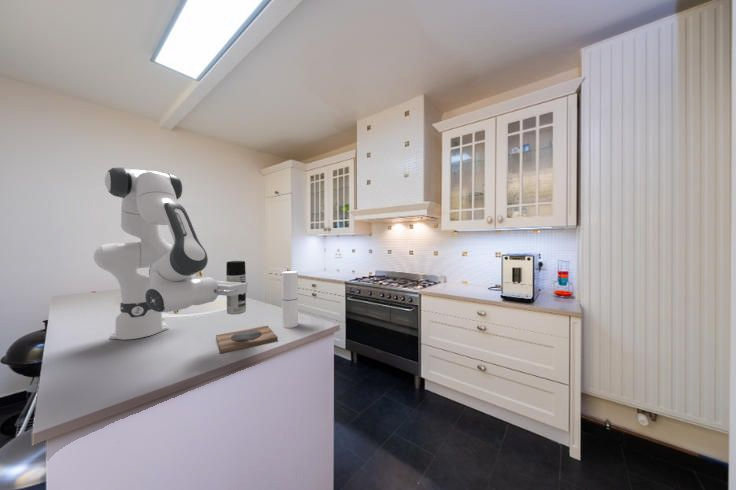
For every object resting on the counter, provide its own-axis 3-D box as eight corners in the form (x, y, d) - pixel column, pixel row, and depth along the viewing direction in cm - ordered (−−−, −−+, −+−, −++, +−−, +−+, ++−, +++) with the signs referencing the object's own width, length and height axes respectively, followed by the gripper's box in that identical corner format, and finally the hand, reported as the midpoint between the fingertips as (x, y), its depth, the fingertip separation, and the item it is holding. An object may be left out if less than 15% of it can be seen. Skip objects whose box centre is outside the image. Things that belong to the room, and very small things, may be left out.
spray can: (240, 315, 98) (240, 262, 97) (222, 314, 98) (222, 262, 97) (248, 310, 104) (249, 260, 104) (232, 309, 104) (232, 260, 104)
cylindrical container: (279, 327, 118) (278, 272, 117) (286, 322, 125) (286, 270, 124) (294, 328, 117) (293, 273, 116) (300, 323, 124) (300, 271, 123)
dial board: (216, 338, 105) (216, 334, 105) (267, 328, 116) (267, 324, 116) (220, 353, 92) (220, 348, 92) (277, 340, 103) (277, 336, 103)
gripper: (227, 283, 85) (258, 277, 98) (184, 279, 92) (219, 274, 105) (227, 302, 85) (259, 293, 98) (185, 297, 92) (219, 289, 105)
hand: (238, 283), depth 102 cm, fingers closed on spray can, 7 cm apart
